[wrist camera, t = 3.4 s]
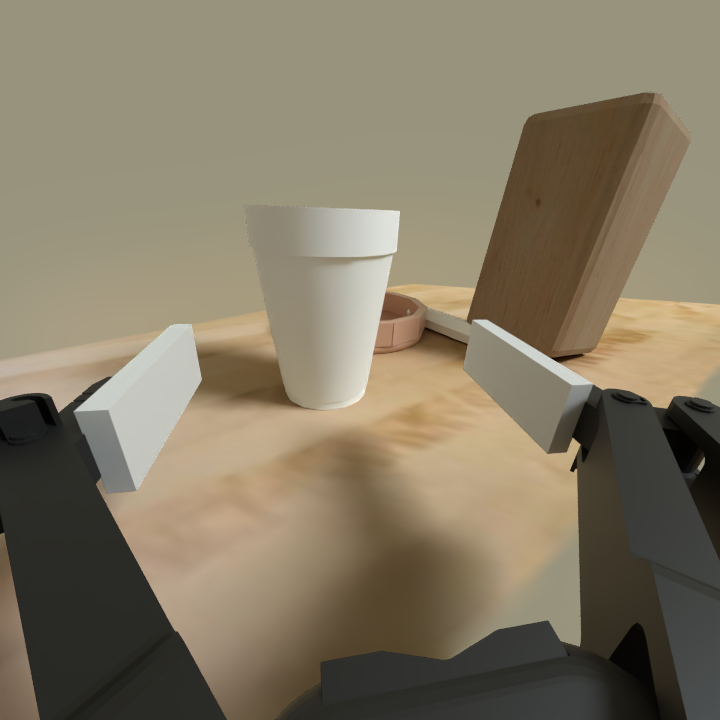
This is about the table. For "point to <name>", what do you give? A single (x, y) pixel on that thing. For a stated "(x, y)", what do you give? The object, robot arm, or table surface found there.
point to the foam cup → (323, 294)
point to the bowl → (399, 323)
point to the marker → (447, 325)
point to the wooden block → (577, 219)
